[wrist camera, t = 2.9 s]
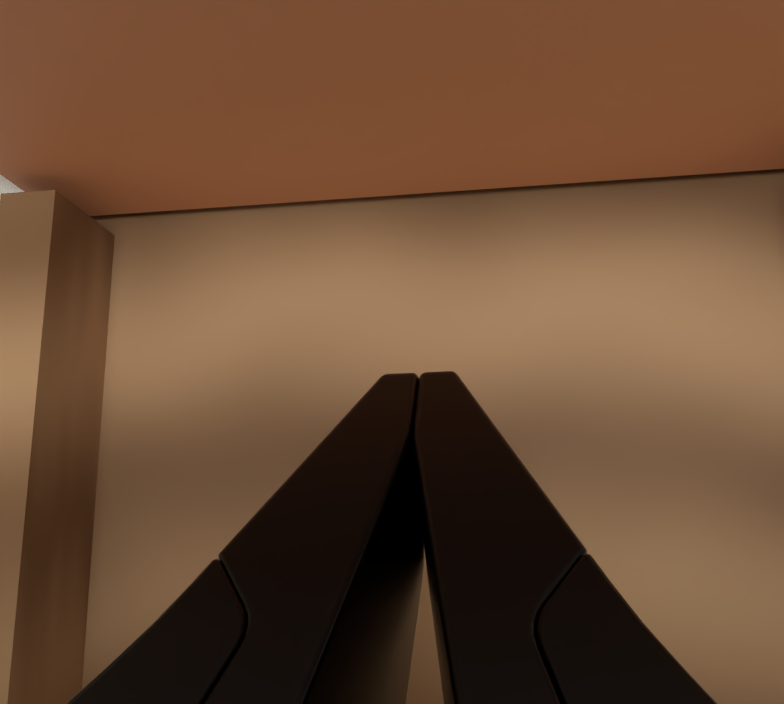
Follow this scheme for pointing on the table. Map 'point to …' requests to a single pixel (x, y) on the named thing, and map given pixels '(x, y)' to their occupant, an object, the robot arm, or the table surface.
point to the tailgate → (379, 96)
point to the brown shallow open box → (389, 356)
